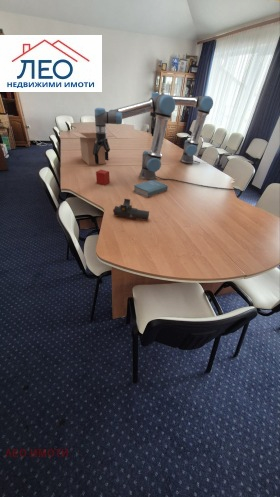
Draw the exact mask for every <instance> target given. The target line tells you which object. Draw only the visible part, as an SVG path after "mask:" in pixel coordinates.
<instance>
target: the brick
mask: <svg viewBox="0 0 280 497" xmlns="http://www.w3.org/2000/svg"><path fill="white" fill-rule="evenodd" d="M95 178H96V184H97V185H101V186H102V185H103V186H107V185H108V184H110V183H111V182H110V171H109V170H104V169H99V170H97V171H95Z"/></svg>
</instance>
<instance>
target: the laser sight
mask: <svg viewBox="0 0 280 497" xmlns="http://www.w3.org/2000/svg"><path fill="white" fill-rule="evenodd" d="M112 213H113V215H114V216H115V217H116V216H117V217H119V218H127V219H131V220H132V219H133V220H136V219H137V220H142V221H143V220H145V221H149V217H150V210H149V211H148V210H143V209H138V208H135V207H133V205H131V199H130V198H124V199H123V204H120V205H119V206H118V205H115V206H114V208H113V210H112Z"/></svg>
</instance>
